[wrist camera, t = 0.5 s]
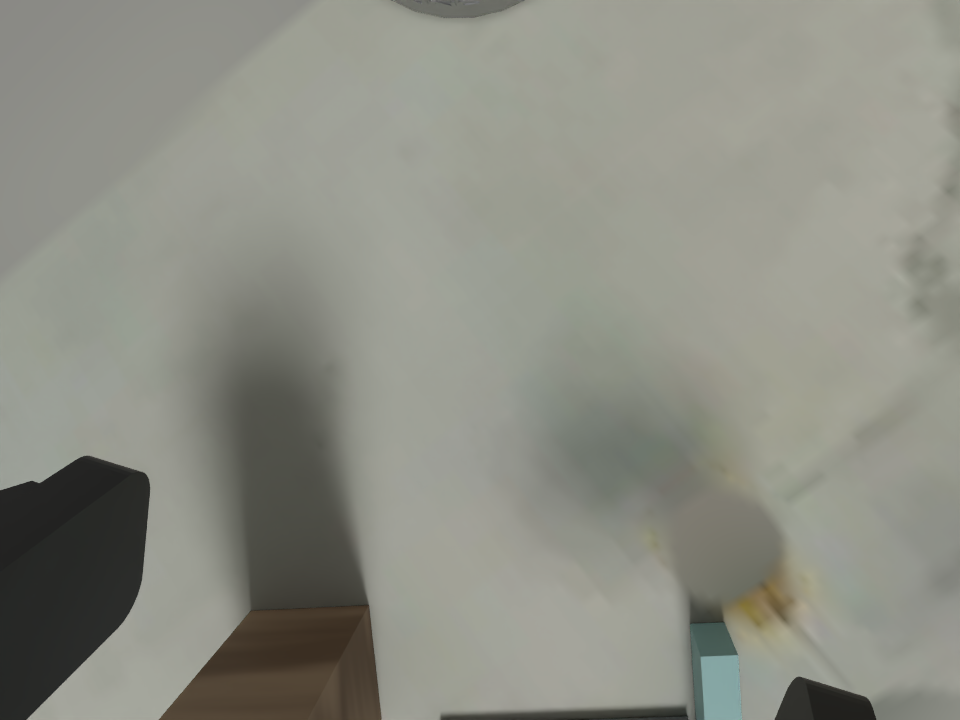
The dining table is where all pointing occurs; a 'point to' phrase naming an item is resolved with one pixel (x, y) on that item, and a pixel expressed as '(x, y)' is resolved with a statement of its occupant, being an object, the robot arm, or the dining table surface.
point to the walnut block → (288, 669)
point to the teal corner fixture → (712, 675)
